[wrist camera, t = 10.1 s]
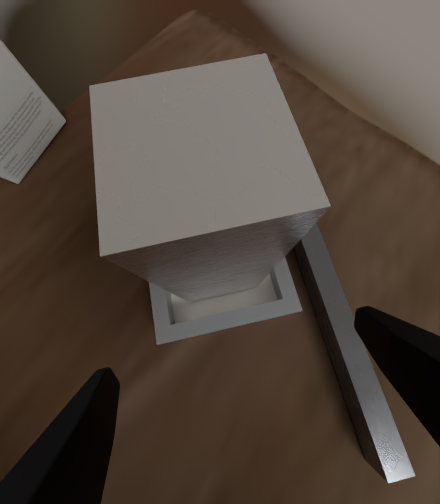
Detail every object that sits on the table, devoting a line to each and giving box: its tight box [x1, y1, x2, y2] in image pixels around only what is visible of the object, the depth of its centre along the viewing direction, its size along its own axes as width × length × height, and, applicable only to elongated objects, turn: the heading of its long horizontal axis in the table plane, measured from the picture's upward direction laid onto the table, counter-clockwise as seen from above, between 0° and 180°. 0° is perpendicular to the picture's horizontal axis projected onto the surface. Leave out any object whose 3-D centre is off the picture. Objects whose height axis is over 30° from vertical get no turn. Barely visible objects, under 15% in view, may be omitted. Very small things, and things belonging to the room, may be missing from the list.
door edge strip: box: [293, 222, 415, 483], centre depth 15 cm, size 20×2×2 cm, turn 13°
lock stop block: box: [89, 53, 331, 303], centre depth 11 cm, size 5×5×12 cm
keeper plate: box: [149, 257, 303, 345], centre depth 16 cm, size 10×10×2 cm
